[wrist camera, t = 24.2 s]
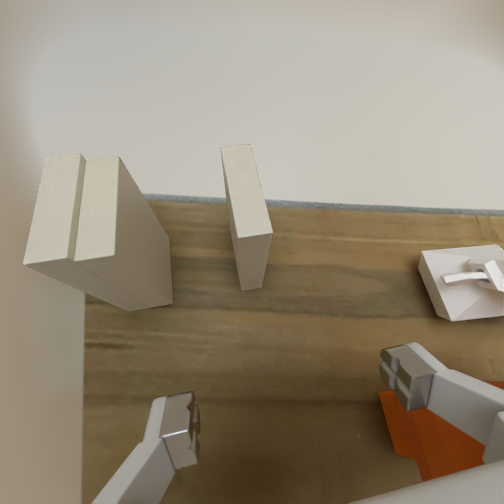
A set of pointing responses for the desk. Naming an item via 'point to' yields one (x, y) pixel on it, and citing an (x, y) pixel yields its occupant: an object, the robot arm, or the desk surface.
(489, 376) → the desk surface
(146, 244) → the white books
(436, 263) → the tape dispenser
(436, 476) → the alarm clock
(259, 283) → the white book
